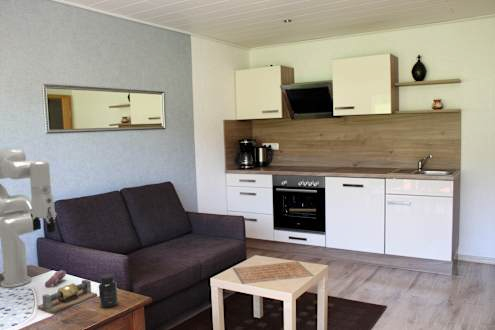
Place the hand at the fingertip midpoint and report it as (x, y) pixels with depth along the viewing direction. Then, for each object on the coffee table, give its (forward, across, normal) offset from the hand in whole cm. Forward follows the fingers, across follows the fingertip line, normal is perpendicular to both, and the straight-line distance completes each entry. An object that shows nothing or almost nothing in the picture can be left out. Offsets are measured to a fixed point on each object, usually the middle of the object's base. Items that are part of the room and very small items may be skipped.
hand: (44, 230), depth 185 cm
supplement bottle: (+28, -31, -6) cm, 43 cm away
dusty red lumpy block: (+29, +10, -11) cm, 32 cm away
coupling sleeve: (+26, -14, 0) cm, 30 cm away
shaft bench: (+28, -14, 0) cm, 32 cm away
